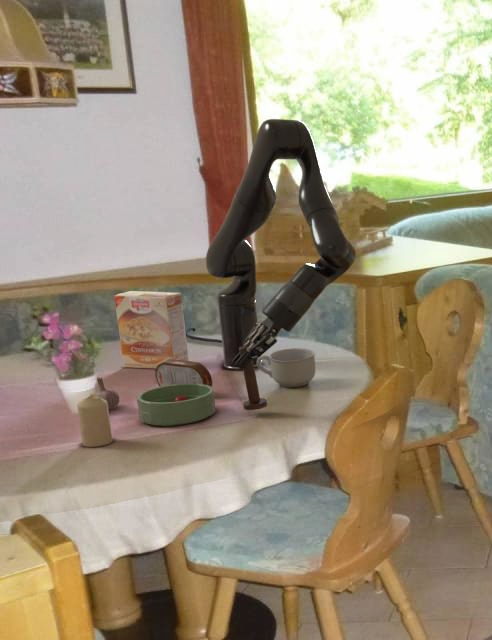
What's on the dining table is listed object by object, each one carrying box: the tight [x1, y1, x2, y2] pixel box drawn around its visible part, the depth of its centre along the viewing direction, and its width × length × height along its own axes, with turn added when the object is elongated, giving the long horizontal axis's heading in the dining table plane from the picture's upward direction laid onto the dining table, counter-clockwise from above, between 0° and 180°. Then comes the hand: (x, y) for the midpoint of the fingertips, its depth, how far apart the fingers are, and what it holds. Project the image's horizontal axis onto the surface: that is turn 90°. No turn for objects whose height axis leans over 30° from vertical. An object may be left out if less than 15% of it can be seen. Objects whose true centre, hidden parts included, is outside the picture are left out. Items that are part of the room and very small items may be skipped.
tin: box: [154, 359, 213, 387], centre depth 244 cm, size 15×3×8 cm, turn 71°
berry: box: [174, 396, 186, 402], centre depth 233 cm, size 3×3×3 cm
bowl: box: [136, 383, 217, 427], centre depth 228 cm, size 16×16×6 cm
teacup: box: [257, 347, 316, 388], centre depth 254 cm, size 14×11×8 cm
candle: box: [76, 394, 113, 448], centre depth 211 cm, size 6×6×10 cm
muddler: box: [239, 346, 268, 411], centre depth 228 cm, size 5×5×14 cm
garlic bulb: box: [89, 376, 120, 411], centre depth 233 cm, size 8×7×8 cm
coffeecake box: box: [114, 290, 190, 370], centre depth 269 cm, size 15×7×20 cm, turn 81°
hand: (237, 365), depth 226 cm, fingers closed on muddler, 2 cm apart
